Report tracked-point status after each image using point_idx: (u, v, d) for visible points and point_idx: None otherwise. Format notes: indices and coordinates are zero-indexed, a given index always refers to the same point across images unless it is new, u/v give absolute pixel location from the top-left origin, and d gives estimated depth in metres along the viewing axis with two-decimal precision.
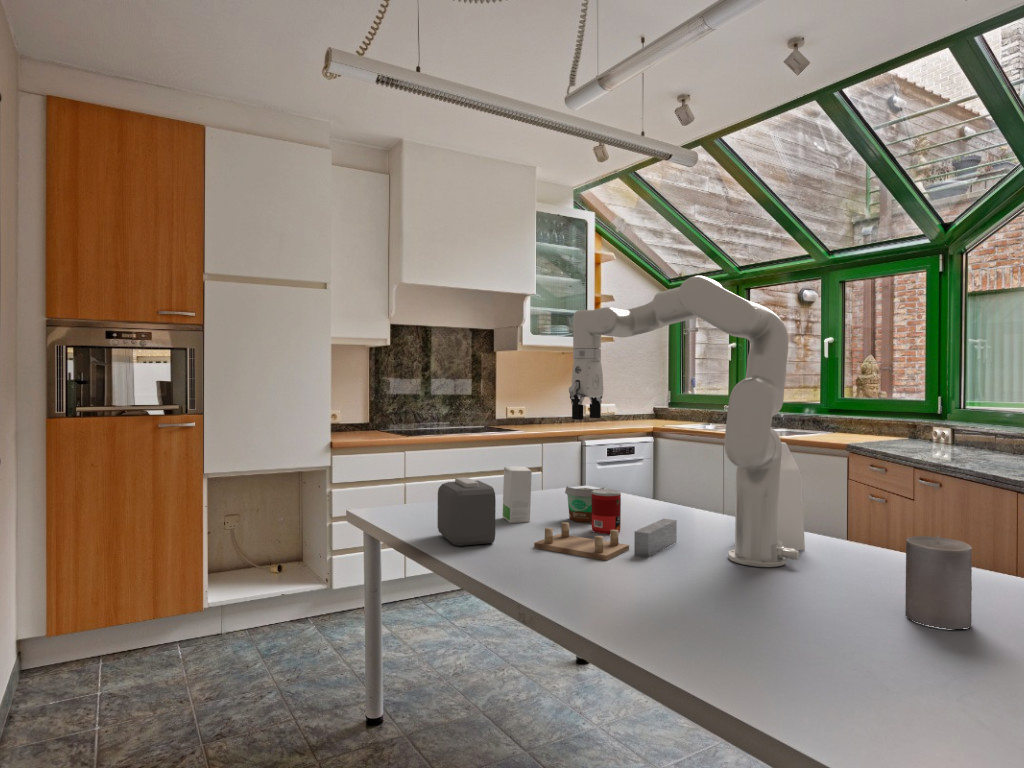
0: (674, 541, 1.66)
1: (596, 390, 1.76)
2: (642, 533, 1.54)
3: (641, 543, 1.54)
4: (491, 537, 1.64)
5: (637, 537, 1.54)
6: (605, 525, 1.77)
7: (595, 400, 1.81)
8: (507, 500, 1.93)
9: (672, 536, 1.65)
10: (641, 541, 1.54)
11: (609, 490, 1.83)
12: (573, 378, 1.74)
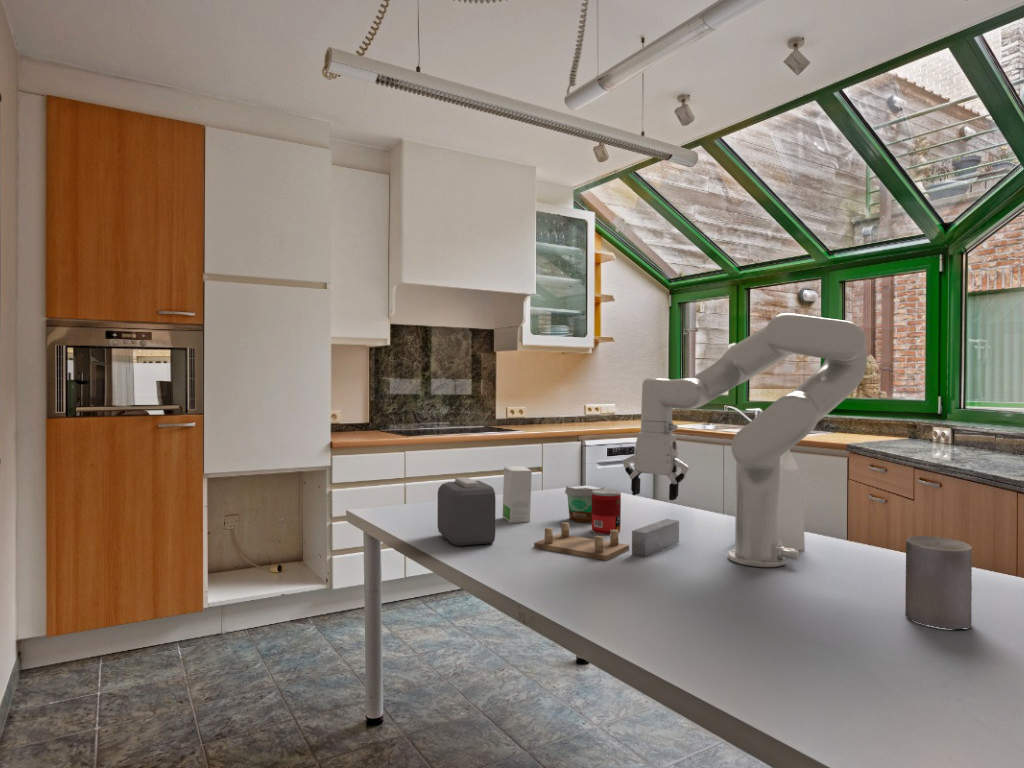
0: (676, 542, 1.66)
1: None
2: (639, 533, 1.54)
3: (638, 543, 1.54)
4: (491, 537, 1.64)
5: (634, 536, 1.55)
6: (605, 525, 1.77)
7: None
8: (507, 500, 1.93)
9: (674, 536, 1.65)
10: (639, 540, 1.54)
11: (609, 490, 1.83)
12: (672, 454, 1.57)
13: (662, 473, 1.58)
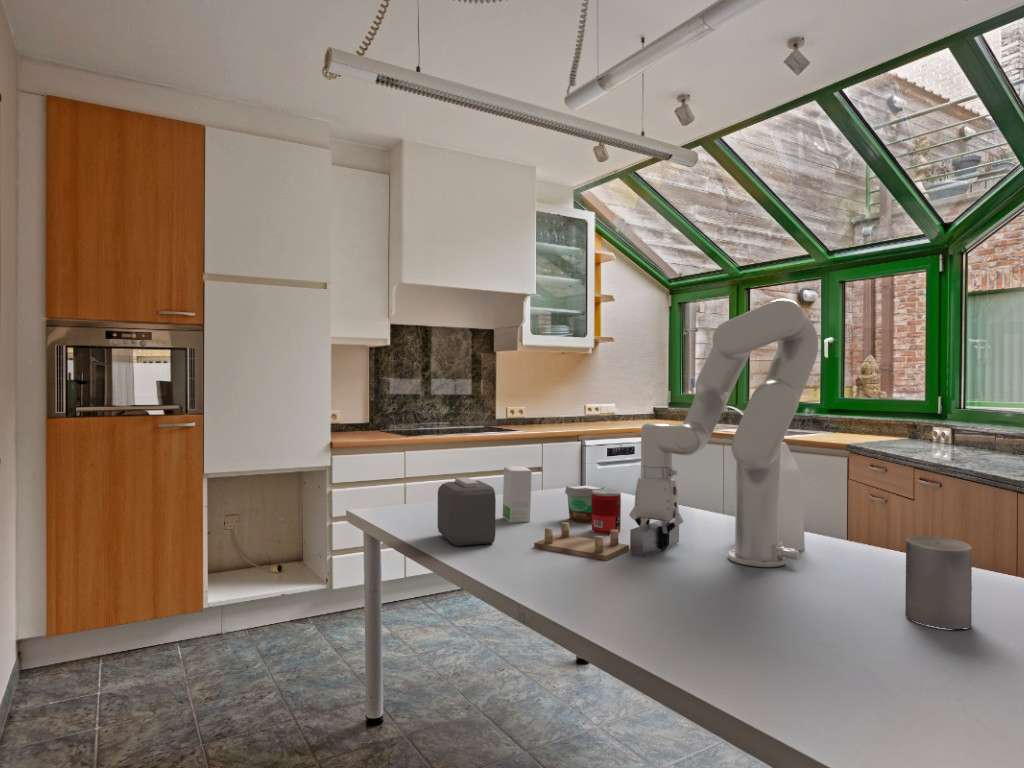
0: (676, 541, 1.66)
1: None
2: (637, 531, 1.54)
3: (636, 541, 1.54)
4: (491, 537, 1.64)
5: (633, 535, 1.55)
6: (605, 525, 1.77)
7: (645, 524, 1.63)
8: (507, 500, 1.93)
9: (673, 536, 1.65)
10: (637, 539, 1.54)
11: (609, 490, 1.83)
12: (672, 500, 1.57)
13: (663, 519, 1.58)
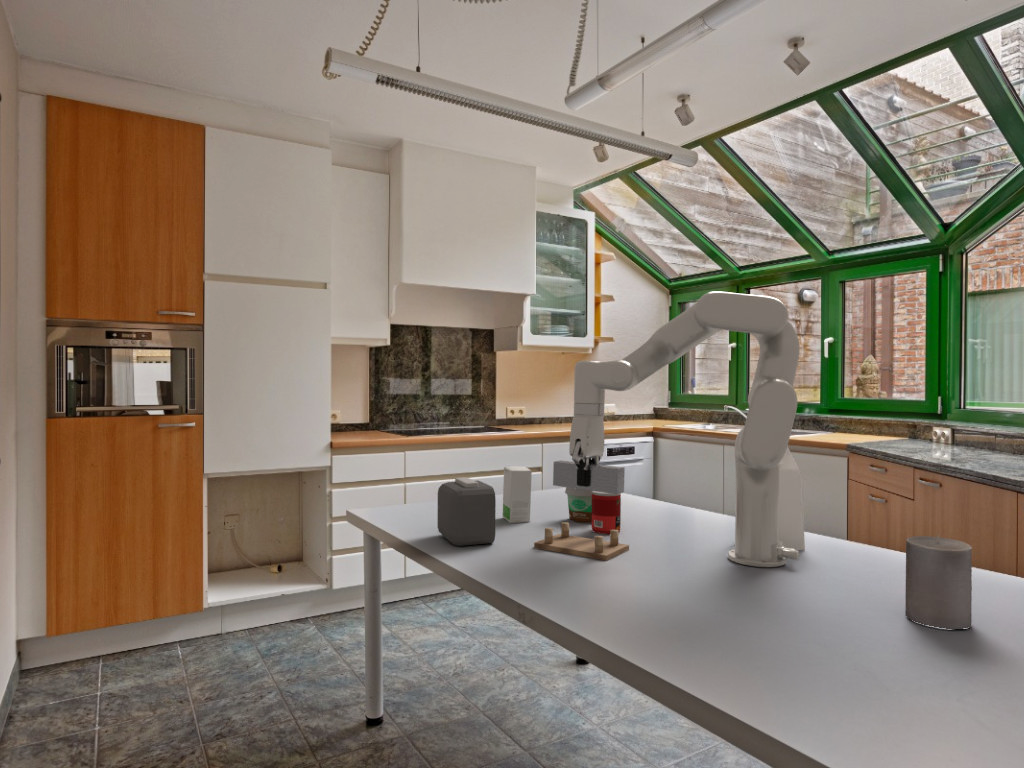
0: None
1: None
2: (621, 468, 1.56)
3: (621, 479, 1.56)
4: (491, 537, 1.64)
5: (619, 474, 1.55)
6: (605, 525, 1.77)
7: None
8: (507, 500, 1.93)
9: None
10: (621, 476, 1.56)
11: None
12: None
13: (600, 454, 1.62)
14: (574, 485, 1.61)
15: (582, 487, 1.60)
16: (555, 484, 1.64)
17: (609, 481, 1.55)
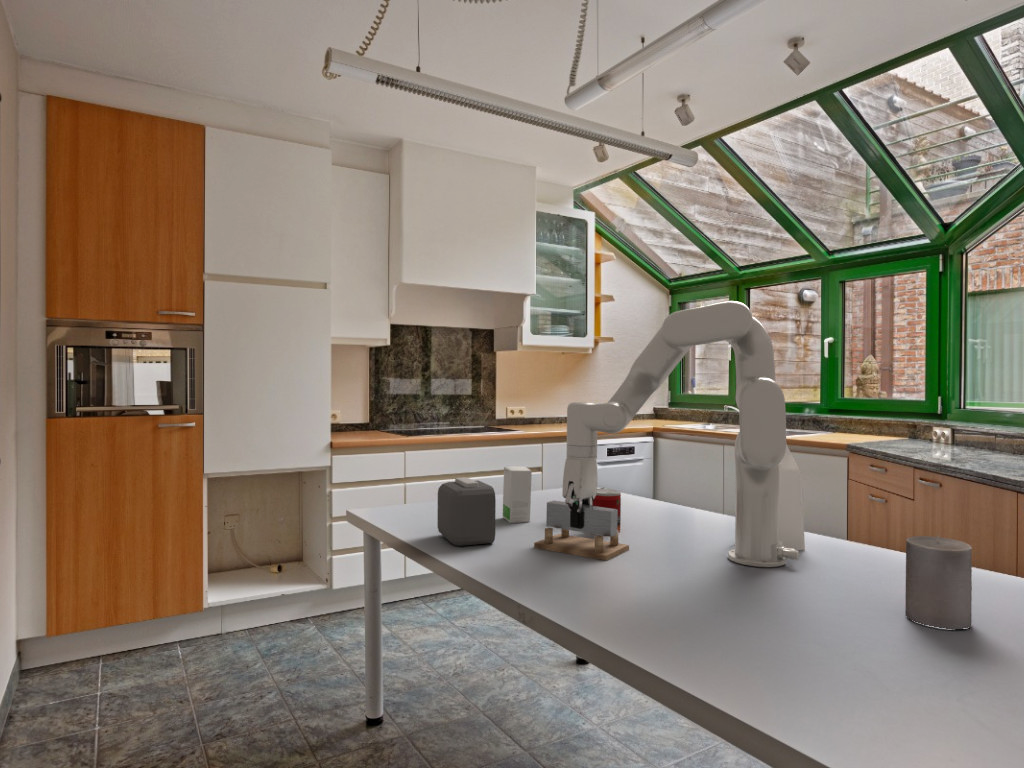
0: None
1: None
2: (614, 511, 1.56)
3: (614, 521, 1.56)
4: (491, 537, 1.64)
5: (612, 516, 1.55)
6: None
7: None
8: (507, 500, 1.93)
9: None
10: (614, 518, 1.56)
11: (609, 490, 1.83)
12: None
13: (593, 495, 1.62)
14: (567, 527, 1.61)
15: (575, 529, 1.60)
16: (548, 525, 1.64)
17: (602, 524, 1.55)
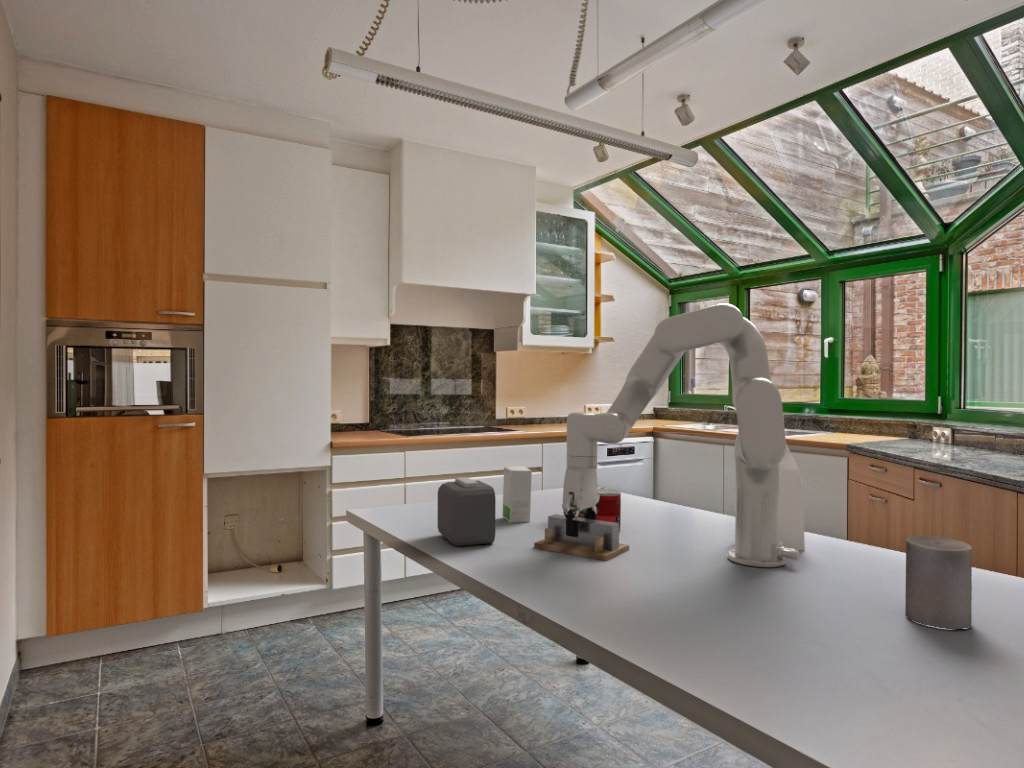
0: None
1: None
2: (616, 525, 1.56)
3: (615, 535, 1.55)
4: (491, 537, 1.64)
5: (614, 530, 1.55)
6: None
7: None
8: (507, 500, 1.93)
9: None
10: (616, 532, 1.56)
11: (609, 490, 1.83)
12: None
13: (593, 505, 1.62)
14: (569, 541, 1.61)
15: (577, 543, 1.60)
16: None
17: (604, 538, 1.55)
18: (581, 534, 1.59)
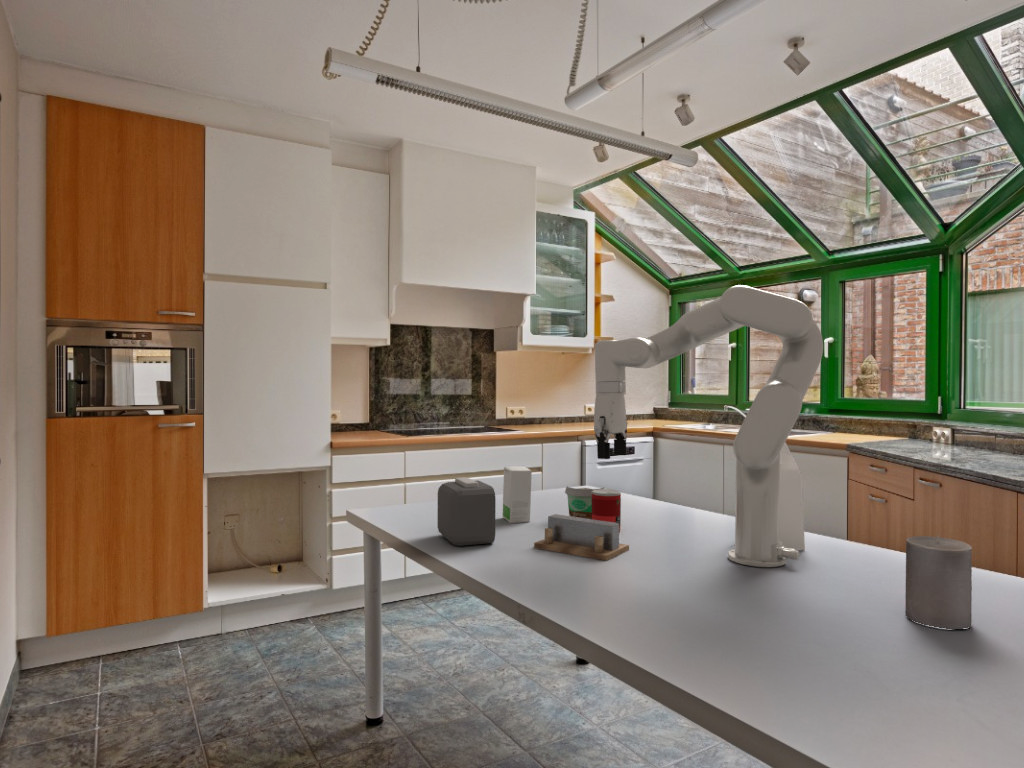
0: None
1: None
2: (616, 525, 1.56)
3: (615, 535, 1.55)
4: (491, 537, 1.64)
5: (614, 530, 1.55)
6: None
7: None
8: (507, 500, 1.93)
9: None
10: (616, 532, 1.56)
11: (609, 490, 1.83)
12: None
13: (623, 431, 1.66)
14: (569, 541, 1.61)
15: (577, 543, 1.60)
16: None
17: (604, 538, 1.55)
18: (581, 534, 1.59)
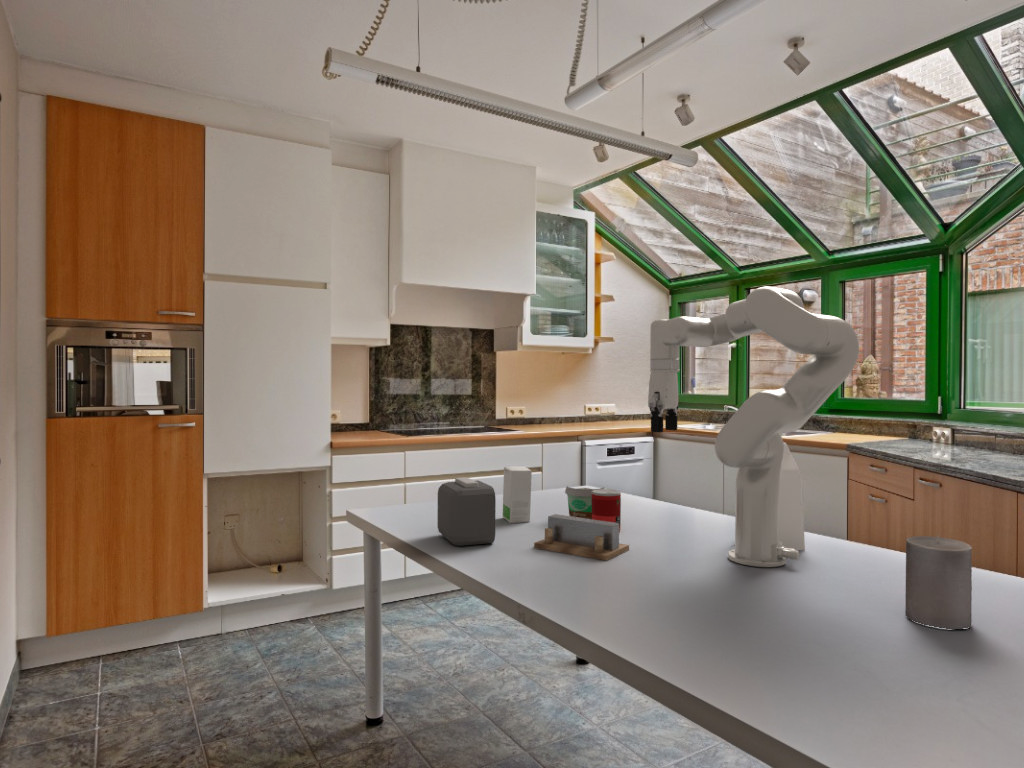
0: None
1: None
2: (616, 525, 1.56)
3: (615, 535, 1.55)
4: (491, 537, 1.64)
5: (614, 530, 1.55)
6: None
7: None
8: (507, 500, 1.93)
9: None
10: (616, 532, 1.56)
11: (609, 490, 1.83)
12: None
13: (675, 407, 1.74)
14: (569, 541, 1.61)
15: (577, 543, 1.60)
16: None
17: (604, 538, 1.55)
18: (581, 534, 1.59)
